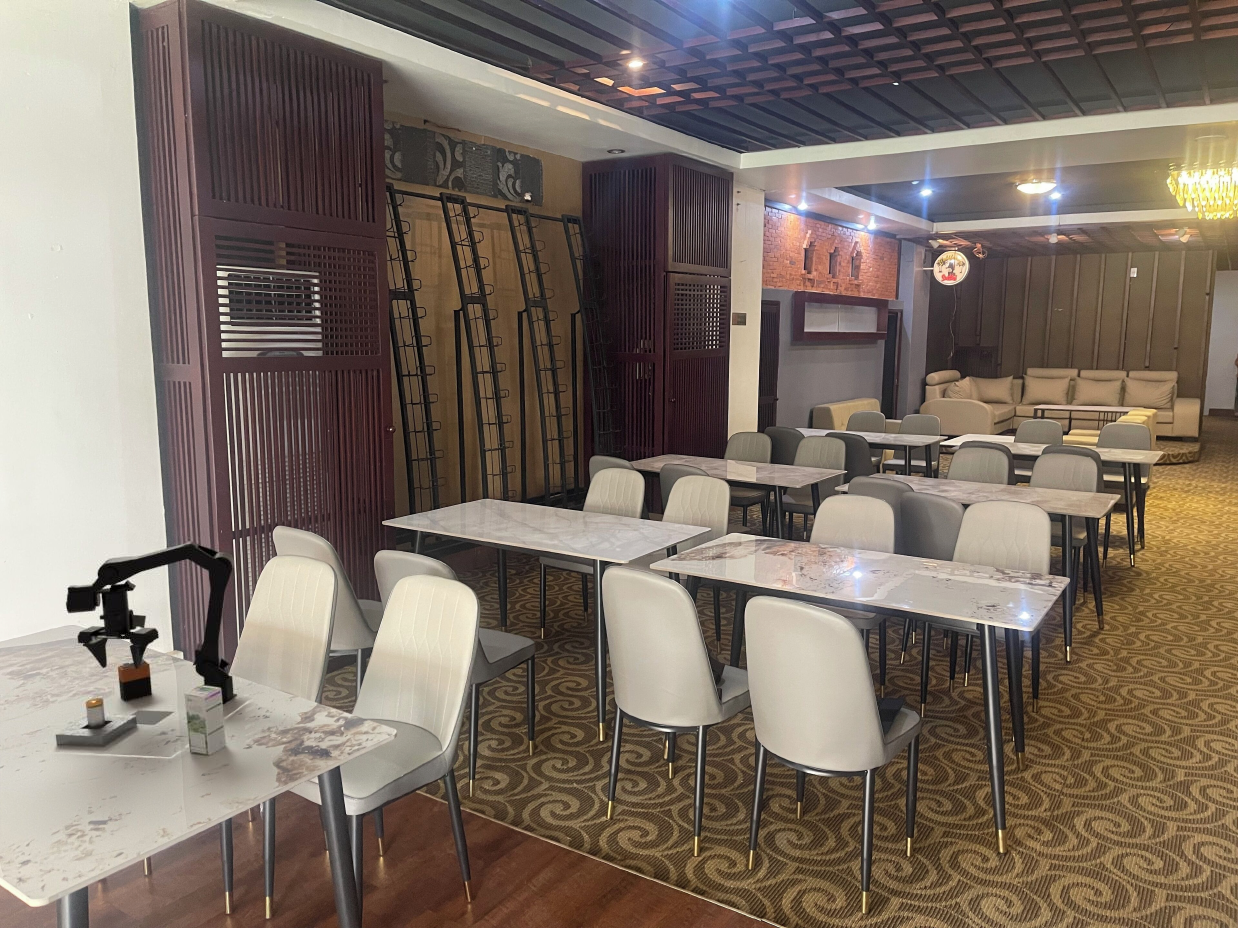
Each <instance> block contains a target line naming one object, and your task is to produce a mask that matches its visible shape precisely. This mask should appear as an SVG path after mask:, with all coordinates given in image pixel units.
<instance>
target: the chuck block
mask: <svg viewBox="0 0 1238 928" xmlns="http://www.w3.org/2000/svg"><path fill="white" fill-rule="evenodd" d="M104 714H105V713H104ZM105 725H106V726H104V727H102V728H101V729H88V720H87V716H85V717H84V718H82V719H80V720H78V721H77V722H75V723H73V724H71V725H69V726H67V727H66V728H64V729H63V730H61V731H59V732H57V733H56V734H55V741H56V746H66V747H67V746H69V747H70V746H71V747H89V748H90V747H91V748H104V747H106V746H108V745H109V744H111V743H113V742H115V740H117V739H119V738H120V737H122V736H123V735H125V734H126V733H128V732H129V731H131V730H133V729H135V728H137V726H138V724H137V720H136V716H134V715H131V714H129V715H128V714H110V713H109V714H105Z"/></svg>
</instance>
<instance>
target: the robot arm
mask: <svg viewBox="0 0 1238 928" xmlns="http://www.w3.org/2000/svg"><path fill="white" fill-rule="evenodd" d="M185 560H189V561H190V562H192V563H194V564H195V565H197V566H199V567H200V568H201V569H202V570H206V571H207V573H208V581H209V589H210V590H209V598H208V599H209V600H208V605H207V606H208V607H207V614H206V621H205V630H204V636H203V637H204V638H203V642H202V643H199V642H198V643H197V644H196V646H195V648H194V649H195V650H194V660H193V663H192V666H194V667H195V668H194V669H195V673H197V675H198V676H201V677H203V684H202V685H203V686H211V687H218V688H221V693H222V705H226V704H227V703H228V702H230V701H231V700H233V699H235V698H236V697H237V696H238V694H237V693H234V683H233V681H234V680H233V676H232V675H230V669H231V665H232V664H231V663H230V662H228V661H227V660H225V659H224V658H222V647H221V640H220V638H221V637H220V636H221V630H222V629H221V628H222V623H223V614H224V609H225V608H224V607H225V598H226V593H227V586H228V583H229V581H230V577H231V575H232V571H233V569H234V565H235V559H234V556H232V554H230V553H228V552H226V551H225V552H224V551H221V552H220V551H216V550H215V549H212V548H210V547H207V546H204V545H201V544H199V543H197V542H196V541H193V540H190V541H187V542H185V543H181V544H178V545H175V546H170V547H166V548H164V549H159V550H156V551H153V552H148V553H144V554H141V555H137V556H119V557H112V558H108V559H107V560H105V561H104V562H103V563H102V564H101V565H100V567H99V568H98V570H97V575H96V576H97V578H96V579H95V580H94V581H93V582H92V583H91V584H83V585H76V584H75V585H69V586H68V587H67V594H66V601H65V608H66V611H67V613H68V614H74V613H76V614H77V613H86V612H88V613H89V612H95V611H96V609H97V607H100V606H101V604H102V614H100V615H99V620H103V625H104V626H100V625H99V626H95V625H92V626H89V627H88V628H84V629H82V630H81V631H79V632H78V635H77V643H78V644H82V647H85V648H86V649H87V650H88V651H89V652H90V653H91V654H92V656H93V657H94V658H95V660H96V661H97V663H98V664H99V665H100V667H101V668H102V669H104V668H107V665H108V664H107V663H108V659H107V647H106V646H107V642H108V640H129V643H131V645H130V646H129V651H130V653H131V658H132V663H134V666H135V669H138V668H140V665H141V662H142V659H144V654H145V652H146V651H147V650H146V649H147V647H148V646H149V645H150V644H152V643H154V641H156V640H158V639H159V630H158V629H157V628H156V627H145V625H146V617H147V616H146V615H141V614H140V615H139V614H134V611H133V609H129V597H128V592H133V591H134V590H135V588H136V587H137V586H136V585H135V584H134V583H133V582H131V581H130V580H129V579H130V578H132V577H133V576H136V575H137V574H140V573H142V572H146V571H149V570H152V569H157V568H160V567H164V566H167V565H171V564H175V563H178V562H182V561H185ZM123 581H125V582H124V583H121V582H123ZM119 583H120V584H119ZM107 586H110V587H107ZM106 587H107V588H106ZM101 602H102V603H101ZM137 628H139V629H138V630H137ZM132 630H134V631H132Z"/></svg>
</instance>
